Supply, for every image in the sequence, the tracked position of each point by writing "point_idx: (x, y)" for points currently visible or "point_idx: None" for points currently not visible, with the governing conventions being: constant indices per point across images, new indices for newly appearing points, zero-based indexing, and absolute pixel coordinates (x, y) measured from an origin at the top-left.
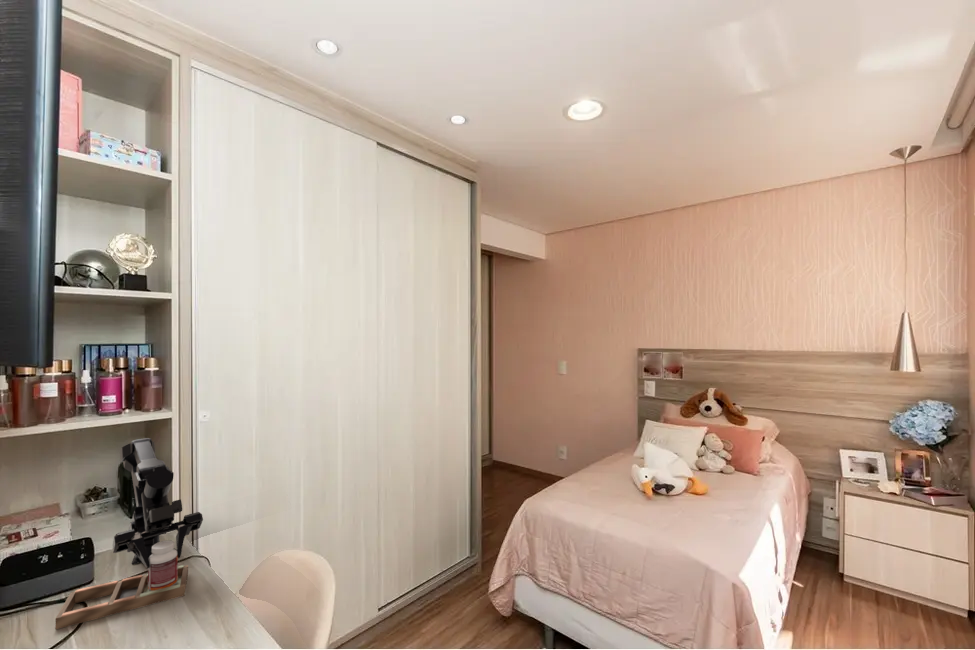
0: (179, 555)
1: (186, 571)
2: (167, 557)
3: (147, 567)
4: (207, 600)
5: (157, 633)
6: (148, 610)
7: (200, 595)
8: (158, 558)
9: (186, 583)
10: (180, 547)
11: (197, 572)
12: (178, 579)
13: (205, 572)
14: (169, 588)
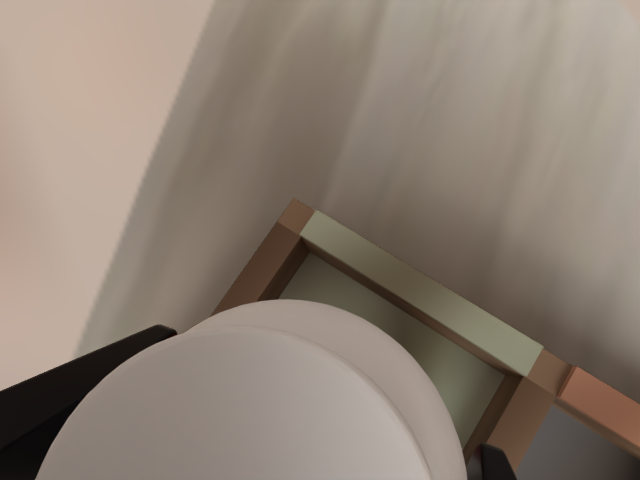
0: (160, 328)
1: None
2: (302, 310)
3: (498, 450)
4: (275, 69)
5: (558, 16)
6: (496, 264)
7: (261, 144)
8: (395, 377)
9: None
10: (67, 380)
11: None
12: None
13: None
14: (369, 243)
